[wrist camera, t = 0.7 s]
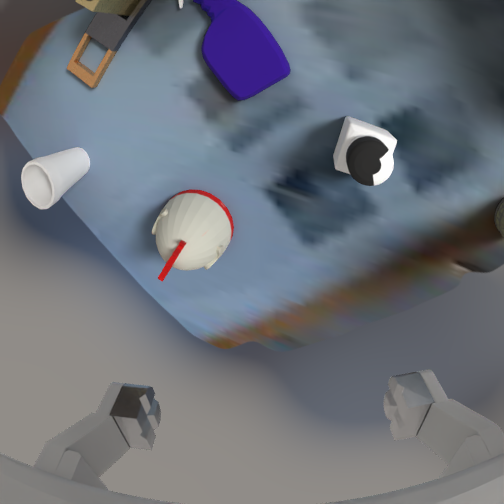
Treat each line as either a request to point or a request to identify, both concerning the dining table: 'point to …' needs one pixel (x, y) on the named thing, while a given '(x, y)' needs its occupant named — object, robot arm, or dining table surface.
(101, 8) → the tan square peg
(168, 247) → the kitchen timer
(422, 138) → the dining table surface
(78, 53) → the peg insertion board
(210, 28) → the purple flat blob
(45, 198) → the foam cup
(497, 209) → the olive green tall piece
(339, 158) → the medicine bottle
